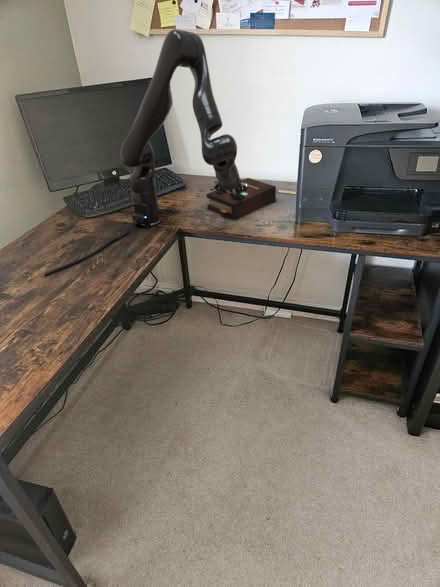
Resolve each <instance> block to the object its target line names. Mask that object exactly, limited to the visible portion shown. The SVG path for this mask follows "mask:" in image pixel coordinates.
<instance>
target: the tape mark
mask: <svg viewBox="0 0 440 587" xmlns="http://www.w3.org/2000/svg"><path fill="white" fill-rule="evenodd" d="M296 192H297V191H293V190H283V189H279V190H277V193H280V194H290V195H297V194H296Z"/></svg>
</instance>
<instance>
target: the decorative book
mask: <svg viewBox="0 0 440 587" xmlns="http://www.w3.org/2000/svg"><path fill="white" fill-rule="evenodd" d="M241 180H242V182H243V183H244V182H248V189H247V190H245V191H244V192H242V193H240V194H239V193H237V196H236V198H234V197H232V196H230V195H229V194H228V192H227V193H223V192H220V191H218V190H216V189H214V188H210V189H209V191H210V192H208V193H206V199H208V200H207V202H208V203H209V204H207V210H209V211H211V212H214V213H216V214H219V215H221V216H224V217H226V218H229V219H231V220H233V221H235V220H238V219H240V218H242V217H244V216H246V215H248V214H251V213H253V212H255V211H258V210H260V209H262V208H264V207H266V206H268V205H270V204H273V203H275V202H276V198H277V197H276V196H277V186H276V185H272V184H269V183H266V182H263V181H259V180H257V179H253V178H250V177H247V178H244V179H241ZM222 189H223V188H222ZM223 190H224V189H223Z"/></svg>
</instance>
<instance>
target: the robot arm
mask: <svg viewBox="0 0 440 587" xmlns="http://www.w3.org/2000/svg"><path fill="white" fill-rule="evenodd" d="M179 67H181V68H188V69H189V70H190V72H191V74H192V76H193V80H194V81H193V82H194V88H193V94H192V109H193V114H194V116H195V117H194V118H195V120H196V122H197V126H198V128H199V131H200V132H199V133H200V142H201V156H202V159H203V160H204V163H206V164H207V165H209V166H212V167H213V170H214V174H215V179H216V181H215V180H214V181H213V182H214V183H213V189H216V190H218V191H220V192H223V193H227V192H228V194H229V195H230V196H232V197H234V198H236V196H237V193H239V194H240V193H242V192H244V191H245V190H247V189H248V182H244V183H243V182H242V180H243V179H241V176H240V173H239V170H238V167H237V165H236V159H237V154H238V145H237V141H236V139H235V138H234V136H232V135H231V134H228V133H225V134H222V135H219V136H217V137H214V138H211V137H212V136H213V135H214V134H216V133H217V132H218V131H220V130H221V129H222V128H223V119H222V117H221V114H220V111H219V108H218V105H217V102H216V99H215V95H214V93H213V88H212V83H211V77H210V76H211V75H210V70H209V66H208V60H207V53H206V49H205V45H204V42H203V40H202V37H201V36H200V35H199V34H197V33H195V32H193V31H188V30H183V29H178V28H173V29H171V30H169V31H168V32H167V34H166V36H165V37H164V40H163V43H162V46H161V49H160V52H159V56H158V59H157V62H156V66H155V69H154V72H153V75H152V77H151V80H150V83H149V85H148V88H147V90H146V92H145V94H144V97H143V99H142V101H141V104H140V107H139V110H138V112H137V115H136V116H135V119H134V122H133V124H132V126H131V129H130V130H129V132H128V134H127V136H126V138H125V139H124V141H123V142H122V144H121V147H120V159H121V161H122V162H123V164H124V165H125V166H126V167H129V168H134V169H133V171H132V172H131V174H130V175H129V181H130V186H131V192H132V197H133V201H134V202H133V210H134V213H133V214H131V219H132V222H130V224H129V225H128V226H127V227H126V230H125V231H124V232H123V233H122V234H120V235H117V236H115V237H113V238H111V239H109V240H108V241H106V242H105V243H104V244H102V245H101V246H100V247H98V248H97V249H95V250H93V251H92V252H90V253H88V254H86V255H83V256H82V257H80V258H78V259H75V260H73V261H71V262H68V263H66V264H63V265H60V266H58V267H56V268H54V269H51V270H49V271H46V272H43V273H44V274H43V275H44V276H45V277H46V276H49V275H51V274H53V273H56V272H58V271H60V270H62V269H65V268H67V267H70V266H73V265H75V264H78V263H79V262H82V261H84V260H86V259H88V258H90V257H92V256H93V255H96V254H97V253H98V252H99V251H102V250H104V248H106V247H107V246H108V245H109V244H111V243H113V242H114V241H117V240H119V239H121V238H123V237H124V236H126V235H127V234H128V233H129V231H130V229H131V228H132V226H134V224H135V223H136V225H137V226H140V227H146V228H151V227H153V226H156V225H158V224H160V223H161V222H162V221H161V219H162V218H161V215H160V214H161V213H160V206H159V201H158V195H157V194H158V193H157V188H156V181H155V174H156V167H155V156H154V150H153V147H152V145H151V142H150V139H151V138H152V137H153V136H154V135H155V134H156V133H157V132H158V131H159V130H160V129H161V127H162V126H163V125H164V123H165V122H166V120H167V118H168V116H169V114H170V112H171V110H172V107H173V92H172V87H171V81H172V79H173V76H174V73H175V72H176V71H177V68H179ZM222 188H223V189H224V190H223V189H222ZM216 190H215V191H216Z"/></svg>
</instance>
